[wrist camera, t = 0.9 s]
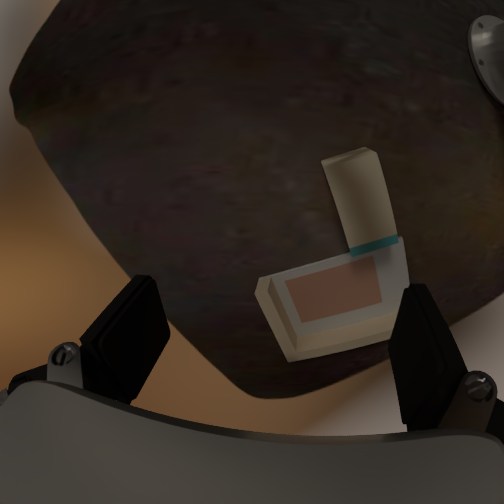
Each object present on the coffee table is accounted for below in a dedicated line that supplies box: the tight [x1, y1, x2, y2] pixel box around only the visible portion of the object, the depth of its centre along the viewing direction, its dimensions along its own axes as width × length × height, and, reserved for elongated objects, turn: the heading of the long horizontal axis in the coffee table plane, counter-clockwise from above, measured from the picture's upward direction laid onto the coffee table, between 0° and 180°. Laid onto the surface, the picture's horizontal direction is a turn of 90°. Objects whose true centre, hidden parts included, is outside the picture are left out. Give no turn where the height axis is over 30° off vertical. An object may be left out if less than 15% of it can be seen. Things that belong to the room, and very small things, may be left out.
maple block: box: [321, 147, 399, 257], centre depth 26 cm, size 5×9×5 cm, turn 23°
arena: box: [255, 237, 409, 362], centre depth 33 cm, size 18×12×4 cm, turn 113°
